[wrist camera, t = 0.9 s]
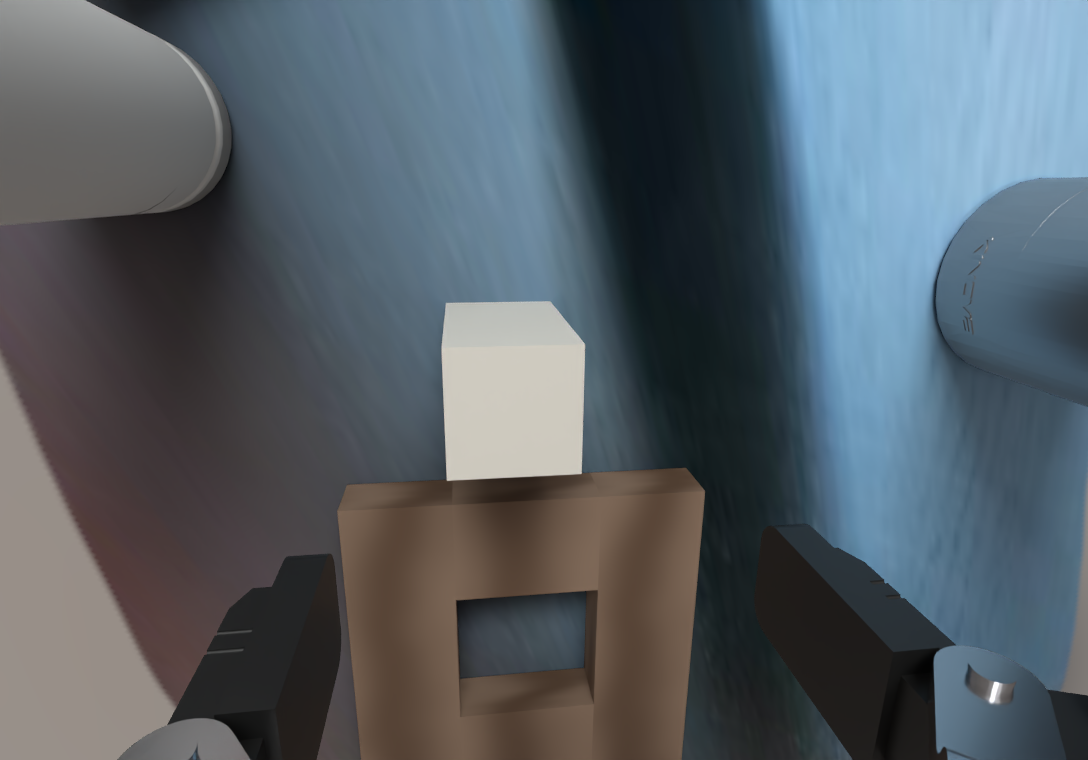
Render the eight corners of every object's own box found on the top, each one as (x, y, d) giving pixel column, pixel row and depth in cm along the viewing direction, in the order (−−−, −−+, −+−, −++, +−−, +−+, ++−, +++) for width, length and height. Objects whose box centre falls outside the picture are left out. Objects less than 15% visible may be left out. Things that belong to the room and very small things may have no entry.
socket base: (685, 467, 31) (705, 491, 29) (665, 730, 36) (680, 769, 33) (347, 484, 29) (337, 511, 27) (372, 760, 34) (365, 804, 31)
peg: (550, 301, 28) (584, 344, 20) (549, 399, 29) (581, 474, 21) (446, 303, 27) (441, 347, 20) (449, 402, 29) (446, 480, 21)
